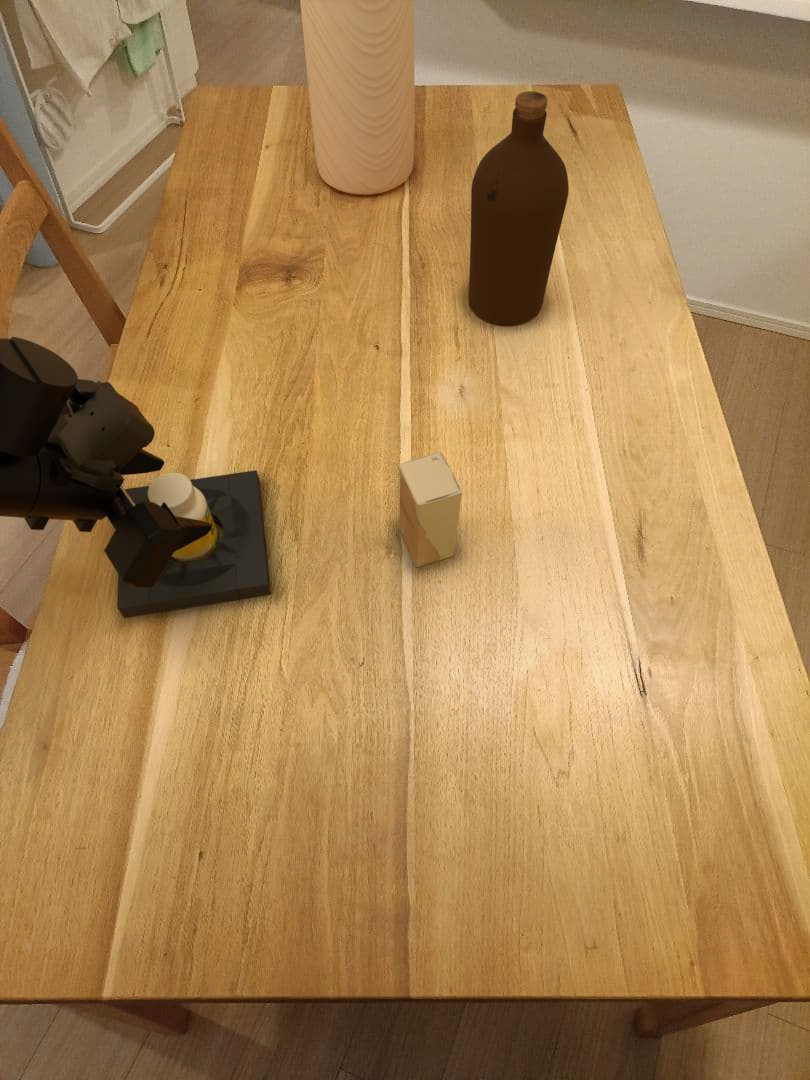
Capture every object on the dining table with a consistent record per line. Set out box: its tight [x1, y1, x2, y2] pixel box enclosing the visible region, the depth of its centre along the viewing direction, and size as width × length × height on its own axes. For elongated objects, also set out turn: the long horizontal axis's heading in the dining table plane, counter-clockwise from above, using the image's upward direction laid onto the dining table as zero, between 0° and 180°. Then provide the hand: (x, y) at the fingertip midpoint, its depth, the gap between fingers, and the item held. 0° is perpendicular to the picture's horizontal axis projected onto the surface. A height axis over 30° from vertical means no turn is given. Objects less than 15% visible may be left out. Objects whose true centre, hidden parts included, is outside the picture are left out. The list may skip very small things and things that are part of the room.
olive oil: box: [467, 90, 570, 327], centre depth 87 cm, size 11×11×25 cm
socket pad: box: [116, 469, 272, 619], centre depth 76 cm, size 14×14×2 cm
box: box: [398, 451, 463, 568], centre depth 73 cm, size 5×4×11 cm
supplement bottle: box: [148, 472, 221, 563], centre depth 73 cm, size 5×5×10 cm
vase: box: [300, 0, 415, 196], centre depth 100 cm, size 14×14×32 cm
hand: (185, 496), depth 71 cm, fingers open, 9 cm apart
